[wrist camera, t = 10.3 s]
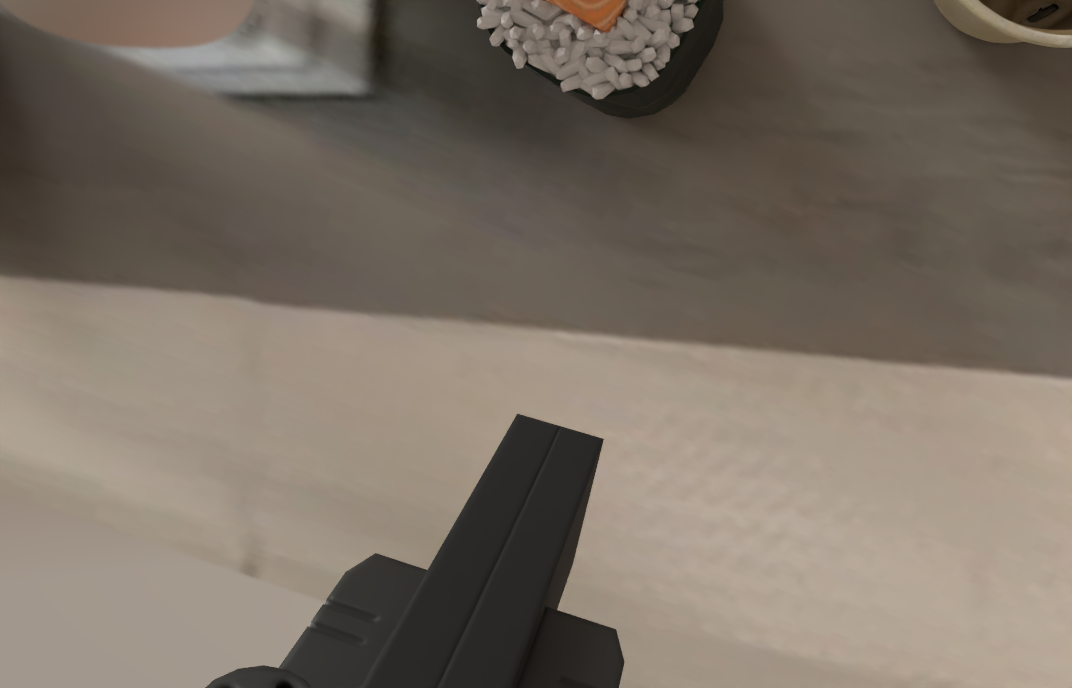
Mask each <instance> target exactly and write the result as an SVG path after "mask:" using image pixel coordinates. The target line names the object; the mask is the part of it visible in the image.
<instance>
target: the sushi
mask: <svg viewBox="0 0 1072 688" xmlns="http://www.w3.org/2000/svg"><path fill="white" fill-rule="evenodd" d="M477 2H478V5H479V9H480V12H481V16H482V17H480V18H479V19H478V20H477V27H479V28H481V29H488V30H489V32H490V34H491V37H490V38H489V40H490V42H491V44H492V46H499V45H500V46H501V47H502V48H503V49H504V50H505V51H506V52H507V53H508V54H509V55H511V56H512V57H513V61H514V63H515V66H516V68H517V69H519V68H523V66H525V67H526V68H527V69H529V70H530V71H532V72H534V73H535V74H537V75H538V76H540V77H542V78H543V79H545V80H547V81H548V82H550V83H552V84H553V85H555V86H557V87H558V88H560V89H561V90H562V91H563V92H567V93H568V94H570V95H572V96H574V97H576V98H578V99H580V100H581V101H583V102H585V103H587V104H589V105H591V106H592V107H594V108H596V109H598V110H600V111H602V112H603V113H605V114H609V115H614V116H619V117H624V118H634V117H640V116H645V115H651V114H655V113H657V112H659V111H660V110H662V109H664V108H666V107H667V106H669V105H671V104H672V103H673V102H674V101H675V100H677V99H678V98H679V97H680V96H681V95H682V94H683V93H684V92H685V90H686V89H687V87H688V86H689V84H690V82H691V81H692V79H693V77H694V76H695V74H696V73H697V71H698V69H699V68H700V66H701V65H702V63H703V61H704V60H705V58H706V56H707V55H708V53H709V52H710V50H711V48H712V47H713V44H714V42H715V39H716V36H717V34H718V31H719V28H720V26H721V23H722V20H723V0H477Z"/></svg>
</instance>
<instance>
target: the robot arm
mask: <svg viewBox="0 0 1072 688" xmlns="http://www.w3.org/2000/svg"><path fill="white" fill-rule="evenodd" d="M603 440H604V439H602V438H599V437H595V436H592V435H588V434H585V433H581V432H578V431H575V430H571V429H568V428H564V427H561V426H558V425H554V424H551V423H547V422H544V421H540V420H537V419H534V418H530V417H527V416H523V415H520V414H517V415H516V417H515V419H514V421H513V422H512V424H511V426H510V428H509V429H508V431H507V433H506V435H505V436H504V438H503V440H502V442H501V443H500V445H499V447H498V448H497V450H496V452H495V454H494V455H493V457H492V459H491V461H490V462H489V464H488V466H487V468H486V469H485V471H484V473H483V475H482V476H481V478H480V480H479V482H478V483H477V485H476V487H475V489H474V490H473V492H472V494H471V496H470V497H469V499H468V501H467V503H466V504H465V506H464V508H463V509H462V511H461V513H460V515H459V516H458V518H457V520H456V522H455V523H454V525H453V527H452V529H451V530H450V532H449V534H448V536H447V537H446V539H445V541H444V543H443V544H442V546H441V548H440V550H439V551H438V553H437V555H436V557H435V558H434V560H433V562H432V563H431V565H430V567H429V569H428V570H425V569H422V568H419V567H416V566H413V565H410V564H407V563H404V562H401V561H398V560H395V559H392V558H389V557H385V556H382V555H379V554H376V553H375V554H374V555H372V556H370V557H369V558H367V559H366V560H364V561H363V562H361V563H359V564H358V565H356V566H355V567H353V568H352V569H350V570H348V571H347V572H346V573H345V574H344V575H343V577H342V578H341V580H340V581H339V583H338V584H337V585H336V587H335V588H334V590H333V591H332V593H331V594H330V595H329V597H328V598H327V601H326V603H325V605H324V604H323V605H322V607H321V608H320V610H319V611H318V613H317V614H316V615H315V617H314V618H313V620H312V622H311V625H310V627H307V628H306V630H305V631H304V632H303V634H302V635H301V637H300V638H299V640H298V641H297V642H296V644H295V645H294V647H293V648H292V650H291V651H290V652H289V654H288V656H287V657H286V658H285V660H284V661H283V662H282V664H281V665H280V667H279V668H275V667H269V666H257V667H249V668H242V669H237V670H235V671H233V672H231V673H228V674H226V675H224V676H221V677H219V678H217V679H215V680H214V681H212V682H211V683H210V684H209V685H208V686H207V687H206V688H619V684H620V680H621V675H622V671H623V666H624V659H623V655H622V651H621V647H620V643H619V639H618V635H617V631H616V629H613V628H610V627H607V626H604V625H601V624H598V623H595V622H591V621H588V620H585V619H582V618H579V617H576V616H573V615H570V614H567V613H564V612H561V611H558V610H557V608H558V605H559V602H560V599H561V596H562V593H563V591H564V588H565V585H566V582H567V579H568V576H569V573H570V570H571V567H572V565H573V561H574V557H575V553H576V548H577V544H578V540H579V536H580V532H581V528H582V524H583V520H584V516H585V512H586V508H587V504H588V500H589V496H590V492H591V488H592V484H593V480H594V476H595V472H596V468H597V464H598V460H599V456H600V452H601V448H602V444H603Z"/></svg>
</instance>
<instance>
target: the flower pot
mask: <svg viewBox="0 0 1072 688" xmlns="http://www.w3.org/2000/svg"><path fill="white" fill-rule="evenodd" d="M933 1H934V2H935V4H936V6H937V8H938V9H939V11H940V12H941V13H942V15H943V16H944V17H945V18H946V19H947V20H948V21H949V22H950V23H951V24H952V25H953V26H954V27H955V28H957V29H959V30H960V31H962V32H963V33H965V34H968V35H970V36H973V37H975V38H978V39H981V40H985V41H988V42H994V43H1017V42H1024V41H1025V42H1028V43H1032V44H1037V45H1042V46H1049V47H1059V48H1072V0H933ZM1052 4H1056V5H1057V6H1058V10H1056V11H1054V12H1053V13H1051V14H1049V15H1048V16H1046V17H1044V18H1042V19H1040V20H1038V21H1035V22H1030V21H1028V20H1027V18H1028V17H1030V16H1032V15H1034V14H1036V13H1037V12H1038V11H1039V8H1040V7H1041V9H1043V8H1047V7H1049V6H1051V5H1052Z"/></svg>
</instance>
